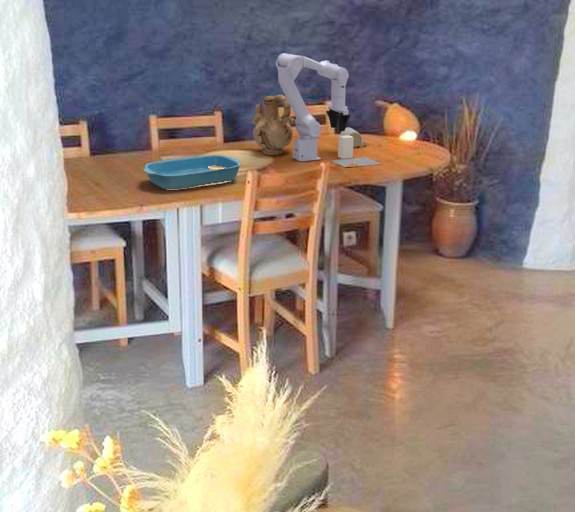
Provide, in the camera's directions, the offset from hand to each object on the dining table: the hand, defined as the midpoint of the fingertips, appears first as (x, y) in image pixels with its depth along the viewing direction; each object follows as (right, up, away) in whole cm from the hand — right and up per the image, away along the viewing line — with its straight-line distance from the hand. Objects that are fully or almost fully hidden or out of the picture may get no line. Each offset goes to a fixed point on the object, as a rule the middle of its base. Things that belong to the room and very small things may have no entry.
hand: (337, 129), depth 366 cm
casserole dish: (-56, -26, -40) cm, 73 cm away
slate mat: (+7, -15, -12) cm, 20 cm away
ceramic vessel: (-27, -9, +6) cm, 29 cm away
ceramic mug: (+8, -5, +18) cm, 20 cm away
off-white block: (+3, -12, -4) cm, 13 cm away
